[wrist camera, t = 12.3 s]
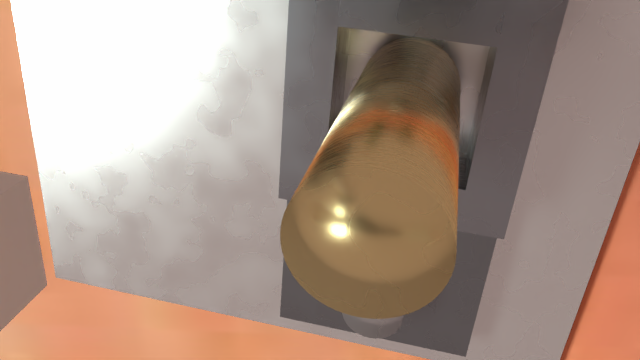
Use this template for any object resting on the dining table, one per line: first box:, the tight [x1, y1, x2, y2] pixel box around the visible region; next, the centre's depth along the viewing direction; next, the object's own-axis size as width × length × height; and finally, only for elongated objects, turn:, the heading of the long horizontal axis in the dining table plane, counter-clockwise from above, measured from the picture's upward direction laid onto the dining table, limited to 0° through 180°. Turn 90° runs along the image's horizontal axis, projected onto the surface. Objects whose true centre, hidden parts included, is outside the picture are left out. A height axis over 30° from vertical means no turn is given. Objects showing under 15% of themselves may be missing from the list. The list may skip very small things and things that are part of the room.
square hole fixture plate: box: [11, 0, 640, 360], centre depth 22 cm, size 28×27×6 cm
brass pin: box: [280, 38, 461, 319], centre depth 18 cm, size 4×4×12 cm
